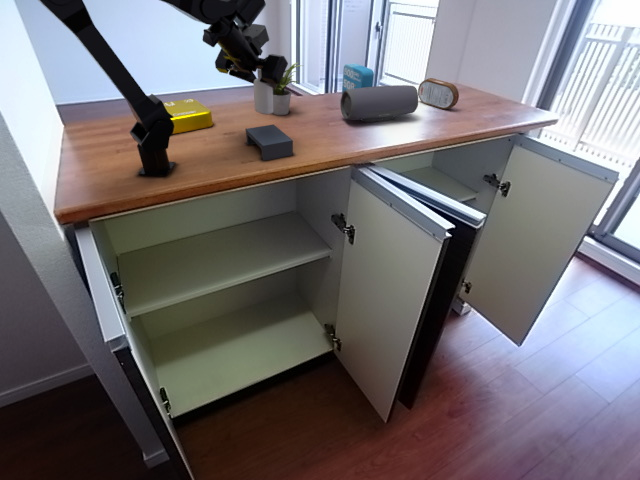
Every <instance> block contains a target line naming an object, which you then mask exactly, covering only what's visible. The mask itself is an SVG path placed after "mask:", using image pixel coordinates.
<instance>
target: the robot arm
mask: <svg viewBox="0 0 640 480" xmlns="http://www.w3.org/2000/svg"><path fill="white" fill-rule="evenodd" d="M37 1H38V2H39V4H41V5H42V6H43V7H44V8H45V9H46V10H48V12H50V14H51V15H53V16H54V17H55V18H56V19H57V20H58V21H59V22H60V23H61V24H62V25H64V27H66V28H67V29H68V31H70V32H71V33H72V35H74V37H75V38H76V40H78V41H79V43H80V44H81V46H82V47H83V48H84V49H85V50H86V51H87V53H88V54H89V55H90V57H91V58H92V59H93V61H94V62H95V63H96V64H97V65H98V67H99V68H100V69H101V71H102V72H103V73H104V74H105V75H106V77H107V78H108V79H109V80H110V82H111V83H112V84H113V86H114V87H115V88H116V89H117V90H118V92H119V93H120V94H121V96H122V97H123V99H125V101H126V103H127V105H128V107H129V109H130V112H131V113H132V115H133V117H134V119H135V121H136V122H135V123H134V125H133V126H132V127H131V129H130V131H129V135H130V136H131V137H132V139H133V140H134V141H135V142H136V143H137V145H136V147H137V152H138V155H139V158H140V161H141V165H142V167H141V168H140V170H139V171H138V172H137V175H138V176H144V177H146V176H147V177H149V176H150V177H167V176H169V174H170V172H171V171H173V168H174V167H175V166H176V161H170V159H169V155H168V151H167V149H169V145H170V137H172V136H173V134H172V133H173V131H174V123H173V121H172V120H171V118H173V116H172V115H171V114H170V113H168V112H167V110H166V108H165V106H164V104H163V103H164V102H163V100H161V99H160V98H159V97H157V96H156V95H155V94H154V93H151V94H150V95H149V96H148V95H147V94H146V93H145V92H144V90H143V89H142V87H141V86H140V85H139V84H138V82H137V81H136V80H135V78H134V76H132V74H131V73H130V72H129V70H128V68H127V67H126V66H125V65H124V63H123V62H122V61H121V59H120V58H119V57H118V55H117V54H116V52H115V51H114V50H113V49H112V46H110V44H109V43H108V42H107V40H106V38H105V37H104V36H103V35H102V34H101V32H100V31H99V29H98V27H96V25H95V22H94V21H93V19H92V16H91V15H90V12H89V11H88V8H87V6H86V4H85V3H84V0H37ZM159 1H160V2H162V3H165V4H167V5H169V6H170V7H172V8H173V9H175V10H176V11H178V12H180V13H181V14H183V15H184V16H186V17H187V18H189V19H191V20H193V21H195V22H198V23H201V24H204V25H208V26H209V27H208V28H204V29H203V35H202V42H203V43H205V44H207V45H208V46H210V47H211V48H215V47H216V46H217V45H218V47H219V48H220V50H219V51H218V54H217V56H216V59H215V60H214V65H215V69H216V70H217V71H218V72H219V73H222V74H226V75H229V76H231V77H234V78H237V79H239V80H243V81H245V82H248V83H250V84H253V83H254V80H255V79H257V78H258V77H257V76H256V75H255V72H257V69H261V79H260V82H261V83H263V84H265V85H267V86H269V87H271V88H273V89H275V88H276V86H277V84H278V83H280V80H281V78H282V76H283V77H284V75H285V73H286V72H285V71H286V70H287V67H288V65H289V62H288V60H287V58H286V57H285V56H284V55H282V54H281V55H280V54H277V53H270V54H268V55H267V56H266V57H265V58H264V57H263V58H262V57H260V56H262V54H263V49H262V48H263V47H264V45H266V43H269V41H270V36H269V33H268V30H267V26H266V25H265V24H258V23H254V22H255V21H256V19H257V18H258V17H259V15H261V13H262V11H263V10H264V9H265V7H266V6H267V3H266V1H265V0H159ZM284 72H285V73H284ZM283 74H284V75H283Z"/></svg>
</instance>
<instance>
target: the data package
mask: <svg viewBox="0 0 640 480" xmlns="http://www.w3.org/2000/svg"><path fill="white" fill-rule="evenodd" d="M342 71H343V72H342V85H341V87H342V88H341V95H342V94H343V91H345V90H349V89H356V88H364V87H374V79H375V73H374V70H373V69H372V68H369V67H366V66H365V65H361V64H359V63H358V62H357V63H356V62H355V63H347V64H344V66H343V70H342Z"/></svg>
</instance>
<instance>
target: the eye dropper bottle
mask: <svg viewBox="0 0 640 480" xmlns="http://www.w3.org/2000/svg"><path fill="white" fill-rule="evenodd" d="M256 72H257V77H256V78H257V79H255V80H254V83H252V85H253V102H254V110H255V112H257V113H258V114H261V115H271V114H273V88H271V87H269V86H267V85H265V84H263V83H261V82H260V79H261V69H257V70H256Z"/></svg>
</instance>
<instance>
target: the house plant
mask: <svg viewBox="0 0 640 480" xmlns="http://www.w3.org/2000/svg"><path fill="white" fill-rule="evenodd" d="M299 63H300V61H298V62H295V63H293V64H291V66H290V67H289V68H288V69H285V72H284V74H283V76H282V78H281V80H280V83H278V84H277V86H276V88H275V89H273V113H272V114H274V115H275V116H285V115H288V114H289V111H290V105H291V96H292V91H290V90H289V89H286V87H287V86H288V85H289V84H291V83H293V84H295V83H297V84H299V81H298V80H293V78H292V77H293V76H294V74H293V73H296V72H299V71H298V70H294V69H295V68H297V67H303V66H304V65H301V64H300V65H297V64H299ZM293 70H294V71H293ZM292 74H293V75H292ZM291 78H292V79H291Z"/></svg>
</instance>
